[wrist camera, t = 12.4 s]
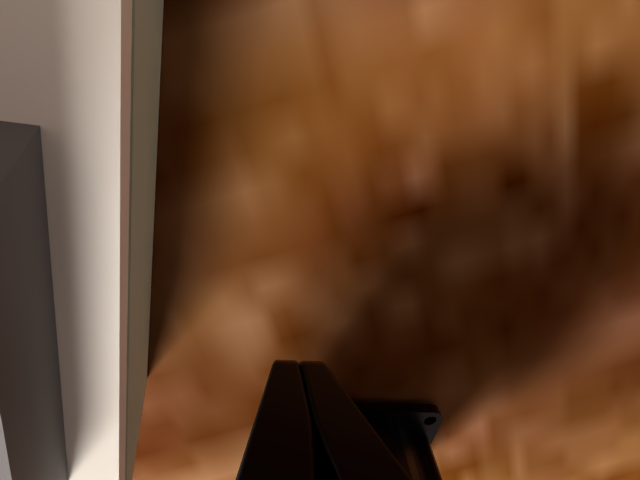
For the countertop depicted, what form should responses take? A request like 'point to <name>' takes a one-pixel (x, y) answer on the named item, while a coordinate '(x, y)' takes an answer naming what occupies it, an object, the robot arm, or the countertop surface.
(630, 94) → the countertop surface
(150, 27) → the toolbox
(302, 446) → the robot arm
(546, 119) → the countertop surface
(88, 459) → the toolbox lid
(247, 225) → the countertop surface
